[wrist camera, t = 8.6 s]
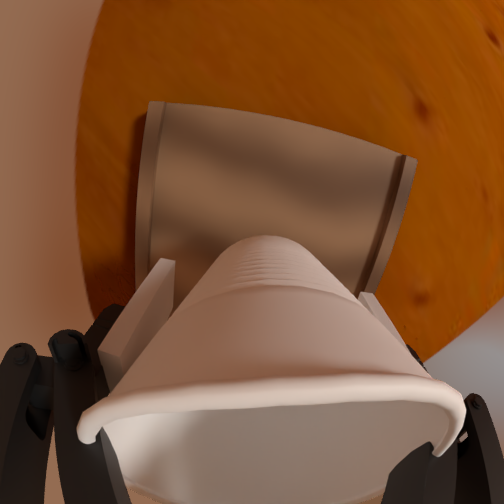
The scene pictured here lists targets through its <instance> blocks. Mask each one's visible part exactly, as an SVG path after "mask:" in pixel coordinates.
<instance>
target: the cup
mask: <svg viewBox="0 0 504 504" xmlns="http://www.w3.org/2000/svg"><path fill="white" fill-rule="evenodd" d="M465 415H466V407H465V404H464V401H463V398H462V396H461V393H459V392H458V391H456V390H455V389H453V388H452V387H450V386H449V385H448V384H446V383H445V382H443V381H440V380H436V379H433V378H432V377H431V376H430V375H429V374H428V373H427V372H426V371H425V369H424V368H423V367H422V366H421V365H420V364H419V363H418V362H417V361H416V360H415V358H414V357H413V356H412V355H411V354H410V353H409V352H408V351H407V350H406V349H405V348H404V347H403V346H402V344H401V343H400V342H399V341H398V340H397V339H396V338H395V337H394V336H393V335H392V334H391V333H390V332H389V331H388V330H387V329H386V328H385V327H384V325H383V324H382V323H381V322H380V321H379V320H378V319H377V318H376V317H375V316H374V315H372V314H371V313H370V312H369V311H368V309H367V308H365V307H364V306H363V305H362V304H361V302H360V301H359V300H357V299H356V298H355V296H354V295H353V294H351V293H350V291H349V290H348V289H347V288H345V287H344V285H343V284H342V283H340V282H339V280H338V279H337V278H335V277H334V275H333V274H332V273H330V272H329V270H327V269H326V268H325V267H324V266H323V265H322V264H321V262H320V261H319V260H317V259H316V258H315V257H314V256H313V255H312V254H311V253H310V252H309V251H308V250H307V249H305V248H304V247H303V246H301V245H300V244H298V243H296V242H294V241H292V240H290V239H287V238H283V237H279V236H271V235H261V236H254V237H249V238H246V239H243V240H241V241H238V242H237V243H235V244H233V245H231V246H230V247H228V248H227V249H226V250H225V251H224V252H223V253H221V254H220V256H219V257H218V258H217V259H216V260H215V262H214V263H213V264H212V265H211V266H210V268H209V269H208V270H207V272H206V273H205V274H204V275H203V277H202V278H201V279H200V280H199V282H198V283H197V284H196V285H195V287H194V288H193V289H192V290H191V291H190V293H189V294H188V295H187V296H186V298H185V299H184V301H183V302H182V303H181V304H180V305H179V307H178V308H177V309H176V310H175V312H174V313H173V314H172V316H171V317H170V318H169V319H168V321H167V322H166V323H165V324H164V325H163V326H162V328H161V329H160V330H159V331H158V333H157V334H156V335H155V336H154V338H153V339H152V340H151V342H150V343H149V344H148V345H147V347H146V348H145V349H144V351H143V352H142V353H141V354H140V356H139V357H138V358H137V360H136V361H135V362H134V363H133V365H132V366H131V367H130V369H129V370H128V371H127V373H126V374H125V375H124V377H123V378H122V379H121V381H120V382H119V383H118V384H117V386H116V387H115V388H114V390H113V391H112V392H111V394H110V395H109V396H108V397H105V398H103V399H102V400H100V401H99V402H97V403H96V404H94V405H93V406H91V407H90V408H88V409H87V410H85V411H84V412H83V413H82V415H81V418H80V420H79V423H78V425H77V434H78V438H79V440H80V441H81V442H83V443H85V444H91V443H93V442H95V441H96V437H95V436H96V435H97V433H98V432H99V430H100V429H101V427H102V426H103V428H104V430H105V432H106V434H107V435H108V437H109V439H110V441H111V444H112V446H113V448H114V450H115V453H116V455H117V458H118V461H119V465H120V469H121V472H122V476H123V479H124V482H125V486H126V487H127V488H129V489H130V490H132V491H134V492H136V493H138V494H140V495H143V496H145V497H147V498H149V499H152V500H154V501H157V502H160V503H162V504H359V503H361V502H364V501H367V500H370V499H372V498H374V497H377V496H379V495H382V494H384V492H385V488H386V484H387V480H388V476H389V473H390V472H391V471H392V470H393V468H394V467H395V466H396V465H397V464H398V463H399V462H400V461H401V460H403V459H404V458H405V457H406V456H407V455H408V454H409V453H410V452H411V451H413V450H414V449H416V448H418V447H420V446H421V445H423V444H425V443H426V442H429V441H430V442H431V443H432V445H433V447H434V450H433V452H432V454H433V455H434V456H436V457H439V456H441V455H442V454H443V453H444V452H445V451H446V450H447V449H448V448H449V447H450V445H451V444H452V443H453V442H454V440H455V439H456V437H457V435H458V434H459V432H460V430H461V429H462V427H463V423H464V419H465Z"/></svg>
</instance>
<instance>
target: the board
mask: <svg viewBox="0 0 504 504" xmlns="http://www.w3.org/2000/svg"><path fill="white" fill-rule="evenodd" d="M417 161H418V160H416V159H414V158H412V157H409V156H407V155H402V154H399V153H397V152H394V151H392V150H389V149H386V148H384V147H381V146H378V145H375V144H372V143H370V142H367V141H364V140H361V139H358V138H354V137H351V136H348V135H345V134H342V133H338V132H335V131H331V130H328V129H324V128H320V127H317V126H313V125H309V124H305V123H301V122H296V121H292V120H288V119H283V118H278V117H273V116H268V115H263V114H258V113H252V112H246V111H240V110H233V109H226V108H218V107H210V106H201V105H190V104H177V103H166V102H159V101H149V106H148V111H147V117H146V123H145V130H144V137H143V144H142V152H141V160H140V169H139V180H138V192H137V207H136V230H135V285H136V291H137V290H138V288H139V287H140V285H141V284H142V283H143V281H144V280H145V278H146V277H147V276H148V274H149V273H150V272H151V270H152V269H153V268H154V266H155V265H156V263H157V262H158V261H159V259H160V258H164V259H169V260H174V261H175V276H174V295H173V308H172V311H171V313H170V315H169V317H168V319H169V318H170V317H171V316H172V314H173V313H174V312H175V310H176V309H177V308H178V307H179V305H180V304H181V303H182V302H183V301H184V299H185V298H186V296H187V295H188V294H189V293H190V291H191V290H192V289H193V288H194V287H195V285H196V284H197V283H198V282H199V280H200V279H201V278H202V277H203V275H204V274H205V273H206V272H207V270H208V269H209V268H210V266H211V265H212V264H213V263H214V262H215V260H216V259H217V258H218V257H219V256H220V254H221V253H223V252H224V251H225V250H226V249H227V248H228V247H230V246H231V245H233V244H235V243H237V242H238V241H241V240H243V239H246V238H249V237H254V236H261V235H271V236H279V237H283V238H287V239H290V240H292V241H294V242H296V243H298V244H300V245H301V246H303V247H304V248H305V249H307V250H308V251H309V252H310V253H311V254H312V255H313V256H314V257H315V258H316V259H317V260H319V261H320V262H321V264H322V265H323V266H324V267H325V268H326V269H327V270H329V272H330V273H332V274H333V275H334V277H335V278H337V279H338V280H339V282H340V283H342V284H343V285H344V287H345V288H347V289H348V290H349V291H350V293H351V294H353V295H354V296H355V298H356V299H358V297H359V294H360V292H366V293H373V295H374V294H375V292H376V289H377V287H378V284H379V282H380V280H381V277H382V275H383V272H384V269H385V267H386V264H387V262H388V259H389V256H390V253H391V251H392V248H393V245H394V242H395V239H396V236H397V233H398V230H399V227H400V224H401V221H402V218H403V214H404V211H405V208H406V204H407V201H408V197H409V194H410V190H411V186H412V182H413V178H414V174H415V170H416V166H417ZM167 321H168V320H167Z"/></svg>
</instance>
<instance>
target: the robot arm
mask: <svg viewBox="0 0 504 504" xmlns="http://www.w3.org/2000/svg"><path fill="white" fill-rule="evenodd" d="M174 276H175V261H174V260H169V259H164V258H160V259H159V261H158V262H157V263H156V265H155V266H154V268H153V269H152V270H151V272H150V273H149V274H148V276H147V277H146V278H145V280H144V281H143V283H142V284H141V285H140V287H139V288H138V290H137V291H136V292H135V294H134V295H133V297H132V298H131V300H130V301H129V302H128V304H127V305H126V307H124V306H121V305H117V304H112V305H110V306H108V307H107V308H105V309H104V310H103V311H102V312H101V314H100V315H99V316H98V319H96V320H95V321H94V323H93V325H91V327H90V328H89V330H88V331H87V332H86V334H85V335H83V334H82V333H80V332H78V331H76V330H70V329H67V330H61V331H59V332H57V333H55V334H54V335H53V336H52V337H51V338H50V340H49V342H48V346H49V348H50V351H51V354H52V357H45V356H38V355H37V353H36V351H35V349H34V348H33V347H32V346H31V345H29V344H27V343H19V344H15V345H13V346H12V347H10V348H9V350H8V351H7V352H6V354H5V356H4V358H3V360H2V362H1V364H0V504H44V492H45V479H46V470H47V461H48V455H49V448H50V443H51V436H52V432H53V427H54V432H55V445H56V455H57V463H58V470H59V476H60V482H61V488H62V492H63V497H64V501H65V504H132V503H131V501H130V498H129V495H128V492H127V489H126V486H125V482H124V479H123V476H122V472H121V469H120V465H119V461H118V458H117V455H116V453H115V450H114V448H113V446H112V444H111V441H110V439H109V437H108V435H107V434H106V432H105V430H104V428H103V426H102V427H101V429H100V430H99V432H98V433H97V435H96V436H95V437H96V441H95V442H93V443H91V444H85V443H83V442H81V441H80V440H79V438H78V434H77V425H78V423H79V420H80V418H81V415H82V413H83V412H84V411H85V410H87V409H88V408H90V407H91V406H93V405H94V404H96V403H97V402H99V401H100V400H102V399H103V398H105V397H108V395H109V393H110V394H111V392H112V391H113V390H114V388H115V387H116V386H117V384H118V383H119V382H120V381H121V379H122V378H123V377H124V375H125V374H126V373H127V371H128V370H129V369H130V367H131V366H132V365H133V363H134V362H135V361H136V360H137V358H138V357H139V356H140V354H141V353H142V352H143V351H144V349H145V348H146V347H147V345H148V344H149V343H150V342H151V340H152V339H153V338H154V336H155V335H156V334H157V333H158V331H159V330H160V329H161V328H162V326H163V325H164V324H165V323H166V322H167V320H168V317H169V315H170V313H171V311H172V308H173V295H174ZM357 300H359V301H360V302H361V304H362V305H363V306H364V307H365V308H367V309H368V311H369V312H370V313H371V314H372V315H374V316H375V317H376V318H377V319H378V320H379V321H380V322H381V323H382V324H383V325H384V327H385V328H386V329H387V330H388V331H389V332H390V333H391V334H392V335H393V336H394V337H395V338H396V339H397V340H398V341H399V342H400V343H401V344H402V346H403V347H404V348H405V349H406V350H407V351H408V352H409V353H410V354H411V355H412V356H413V357H414V358H415V360H416V361H417V362H418V363H419V364H420V365H421V366H422V367H423V363H422V362H421V361H420V358H419V357H418V355H417V353H416V352H415V351H414V350H413V349H412V348H411V347H410V346H409V345H405V343H404V341H403V340H402V338H401V337H400V335H399V333H398V332H397V330H396V329H395V327H394V325H393V324H392V322H391V321H390V319H389V317H388V316H387V314H386V313H385V311H384V310H383V308H382V307H381V305H380V304H379V302H378V301H377V299H376V298H375V296H374V295H373V293H366V292H360V294H359V297H358V299H357ZM423 368H424V369H425V367H423ZM425 371H426V372H427V370H426V369H425ZM427 373H428V372H427ZM464 404H465V407H466V415H465V419H464V423H463V427H462V429H461V430H460V432H459V434H458V435H457V437H456V439H455V440H454V442H453V443H452V444H451V445H450V447H449V448H448V449H447V450H446V451H445V452H444V453H443V454H442V455H441V456H439V457H436V456H434V455H433V454H432V452H433V450H434V447H433V445H432V443H431V442H430V441H429V442H426V443H425V444H423V445H421V446H420V447H418V448H416V449H414V450H413V451H411V452H410V453H409V454H408V455H407V456H406V457H405V458H404V459H403V460H401V461H400V462H399V463H398V464H397V465H396V466H395V467H394V468H393V470H392V471H391V472H390V473H389V476H388V480H387V484H386V488H385V492H384V495H383V499H382V502H381V504H504V459H503V455H502V451H501V447H500V444H499V440H498V437H497V434H496V431H495V428H494V425H493V422H492V419H491V417H490V413H489V411H488V408H487V406H486V403H485V402H484V400H483V399H482V397H481V396H480V395H478V394H474V393H471V394H469V395H468V396H467V397H466V398H465V400H464ZM465 432H467V434H468V437H467V438H466V439H465V440H464V441H463V442H460V441H459V438H460V437H461V436H462V435H463V434H464V433H465Z"/></svg>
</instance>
